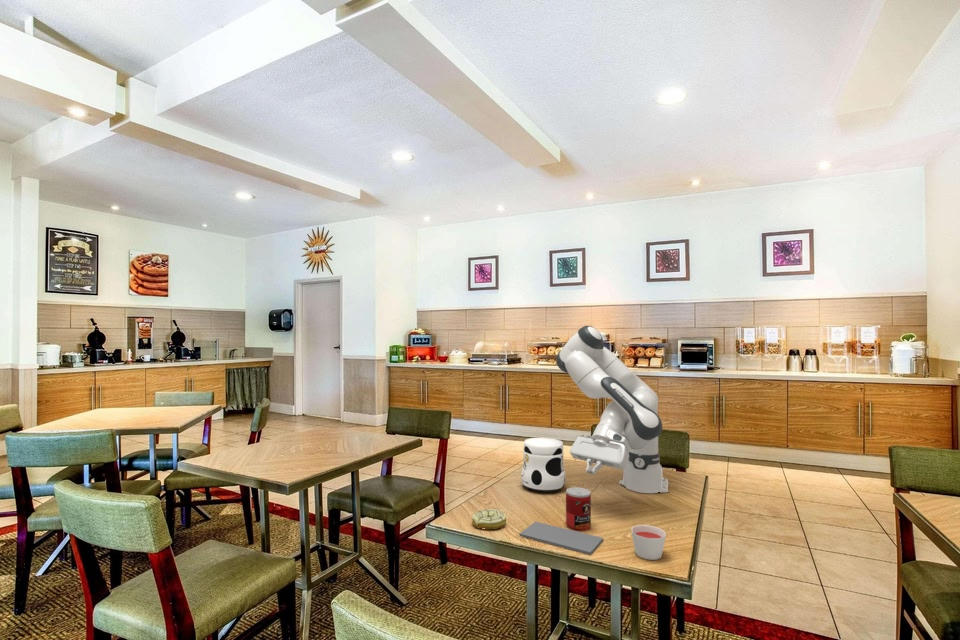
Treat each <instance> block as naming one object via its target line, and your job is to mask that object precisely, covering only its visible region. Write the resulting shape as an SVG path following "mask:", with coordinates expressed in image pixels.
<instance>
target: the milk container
mask: <svg viewBox="0 0 960 640" xmlns="http://www.w3.org/2000/svg"><path fill="white" fill-rule="evenodd" d="M520 477H521V478H520V479H521V483H522V484H523V485H522V486H524V487H525V488H527V489H528V490H532V491H535V492H546V493H547V492H548V493H549V492H550V493H551V492H556V491H559V490H561V489H563V488H564V486H565V483H566V478H567V477H566V470H565V467H564V443H563V441H562V440H560V439H557V438H551V437H530V438H526V439H524V441H523V463H522V468H521V472H520Z"/></svg>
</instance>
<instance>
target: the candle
mask: <svg viewBox="0 0 960 640" xmlns="http://www.w3.org/2000/svg"><path fill="white" fill-rule="evenodd" d="M630 530H631V537H632V542H633V547H634V552H635V555H637V556H638V557H639V558H641V559H644V560H648V561H656V560H659V559H661V558H662V555H663V551H664V546H665V541H666V534H667V532H665V531H664V530H663V529H662V528H660V527H656V526H653V525H648V524H637V525H634V526H632V527H631V529H630Z"/></svg>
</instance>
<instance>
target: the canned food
mask: <svg viewBox="0 0 960 640" xmlns="http://www.w3.org/2000/svg"><path fill="white" fill-rule="evenodd" d="M591 493H592V492H591V490H589V489H587V488H584V487H578V486H575V487H569V488H568V487H567V489H566V491H565V524H566V526H567V529H568V528H569V530H573V531H577V532H584V531H588V530H590V528H591V523H592V522H591V521H592V520H591V519H592V517H591V516H592V514H591V513H592V512H591V511H592V510H591V509H592V497H591V495H592V494H591Z"/></svg>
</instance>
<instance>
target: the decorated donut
mask: <svg viewBox="0 0 960 640" xmlns="http://www.w3.org/2000/svg"><path fill="white" fill-rule="evenodd" d="M506 523H507V515H506V513H505V512H504V511H501V510H499V509H495V508H490V509H489V508H487V509H481V510H477V511H476V512H475V513H473V515H472V525H473V524H474V525H475V526H476V527H475V526H474V525H473V526H474V527H475V528H477V527H479V528H478V529H480V528H485V529H484V530H487V529H495V530H498V528H499V529H502V528H503V527H504V526H505V524H506Z"/></svg>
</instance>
